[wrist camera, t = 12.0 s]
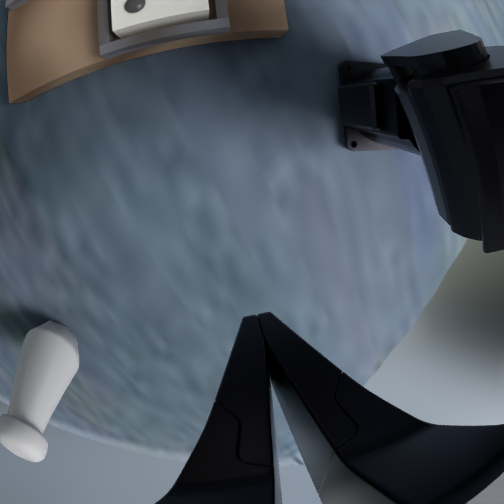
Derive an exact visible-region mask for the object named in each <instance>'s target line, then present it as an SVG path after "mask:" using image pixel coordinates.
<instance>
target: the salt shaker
mask: <svg viewBox="0 0 504 504" xmlns="http://www.w3.org/2000/svg"><path fill="white" fill-rule="evenodd" d="M78 368H79V353H78V343H77V339H76V338H75V337H74V335H73V334H72V333H71V332H70V330H69V329H68V328H67V326H65V325H62V324H59V323H56V322H54V321H51V320H49V321H47V322H46V323H44V324H42V325H40V326H38V327H36V328H33V329H31V330H30V331H29V332H28V333H27V335H26V337H25V339H24V341H23V345H22V348H21V352H20V356H19V360H18V364H17V368H16V373H15V377H14V382H13V387H12V393H11V398H10V404H9V411H8V414H2V416H1V417H0V442H1V444H2V445H3V446H5V447H6V448H7V449H8V450H9V451H11V452H12V453H14V454H15V455H17V456H19V457H21V458H23V459H26V460H28V461H33V462H39V461H42V460H43V459H44V458H45V455H46V453H47V448H48V442H47V440H46V437H45V436H44V435H43V431H44V429H45V427H46V425H47V423H48V421H49V419H50V417H51V415H52V413H53V411H54V409H55V408H56V406H57V404H58V402H59V401H60V399H61V397H62V395H63V394H64V392H65V390H66V388H67V387H68V385H69V383H70V382H71V380H72V378H73V377H74V375H75V373H76V372H77V370H78Z"/></svg>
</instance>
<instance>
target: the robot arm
mask: <svg viewBox="0 0 504 504" xmlns="http://www.w3.org/2000/svg"><path fill="white" fill-rule="evenodd" d="M381 58H382V60H383V62H384V64H385V65H383V64H374V63H365V62H354V61H343V62H341V63H340V64H339V67H338V69H339V77H340V88H339V98H340V109H341V122H342V123H343V125H344V133H345V145H346V148H347V149H349V150H351V151H366V150H391V149H401V150H405V151H408V152H411V153H415V154H418V155H421V156H422V159H423V162H424V165H425V169H426V172H427V175H428V178H429V182H430V185H431V189H432V192H433V196H434V200H435V203H436V206H437V209H438V212H439V215H440V216H441V217H442V218H443V219H444V220H445V221H446V222H447V223H448V224H449V225H451V230H452V231H453V232H455V233H457V234H459V235H461V236H463V237H466V238H470V239H474V240H479V241H483V251H484V252H485V253H490V252H495V251H499V250H504V46H491V47H485V46H484V44H483V41H482V39H481V38H480V37H478V36H475V35H473V34H470V33H468V32H465V31H462V30H456V31H450V32H445V33H439V34H434V35H430V36H428V37H425V38H422V39H420V40H417V41H414V42H412V43H409V44H407V45H404V46H402V47H399V48H397V49H395V50H392V51H390V52H388V53H385V54H383V55H381ZM345 65H346V66H347V67H348V71H346V70H345V68H344V66H345ZM352 141H354V146H353V147H352V146H351V142H352ZM270 380H271V383H272V385H273V388H274V391H275V393H276V396H277V398H278V401H279V403H280V405H281V408H282V410H283V413H284V415H285V418H286V420H287V423H288V425H289V427H290V430H291V432H292V435H293V437H294V439H295V442H296V444H297V446H298V449H299V451H300V453H301V456H302V458H303V460H304V463H305V465H306V467H307V470H308V472H309V474H310V477H311V479H312V481H313V483H314V486H315V488H316V490H317V492H318V494H319V497H320V499H321V502H322V503H323V504H504V424H501V425H486V426H450V425H436V424H431V423H427V422H424V421H422V420H419V419H417V418H415V417H413V416H412V415H409V414H408V413H406V412H404V411H403V410H401V409H399V408H397V407H395V406H394V405H392V404H390V403H388V402H387V401H385V400H383V399H381V398H379V397H378V396H377V395H375V394H373V393H372V392H370V391H369V390H367V389H365V388H364V387H363V386H361V385H360V384H359V383H357V382H356V381H355V380H353V379H352V378H351V377H349V376H348V375H347V374H346V373H344V372H342V370H340V369H339V368H338V367H337V366H335V365H334V364H333V363H332V362H330V361H329V360H328V359H327V358H326V357H324V356H323V355H322V354H321V353H319V352H318V351H317V350H316V349H314V348H313V347H312V346H311V345H310V344H308V343H307V342H306V341H305V340H303V339H302V338H301V337H300V336H299V335H297V334H296V333H295V332H294V331H293V330H291V329H290V328H289V327H288V326H287V325H285V324H284V323H283V322H282V321H281V320H279V319H278V318H277V317H276V316H275V315H273V314H272V313H271V312H266V313H261V314H258V315H257V316H256V315H251V316H246V317H243V319H242V322H241V325H240V328H239V331H238V334H237V337H236V340H235V343H234V346H233V348H232V351H231V354H230V357H229V360H228V363H227V366H226V369H225V372H224V375H223V378H222V381H221V384H220V387H219V390H218V393H217V396H216V399H215V402H214V404H213V407H212V410H211V413H210V415H209V418H208V420H207V423H206V425H205V428H204V430H203V432H202V434H201V436H200V438H199V440H198V442H197V444H196V446H195V448H194V450H193V452H192V453H191V455H190V457H189V459H188V461H187V463H186V464H185V467H184V468H183V470H182V472H181V474H180V475H179V477H178V479H177V480H176V482H175V484H174V485H173V487H172V488H171V489H170V491H169V492H168V493H167V494H166V495H165V496H164V497H163V498H161V499H160V500H159V501H158V502H156V503H155V504H282V495H281V485H280V474H279V463H278V453H277V442H276V432H275V422H274V411H273V401H272V391H271V383H270Z"/></svg>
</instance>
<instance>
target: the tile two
mask: <svg viewBox="0 0 504 504" xmlns="http://www.w3.org/2000/svg"><path fill="white" fill-rule="evenodd" d="M111 15H112V31H113V32H114V33H115V34H116V35H117V36H118V37H120V38H121V39H123V38H126V37H129V36H133V35H136V34H140V33H144V32H148V31H152V30H156V29H160V28H165V27H170V26H175V25H180V24H185V23H191V22H198V21H205V20H209V3H208V0H111Z"/></svg>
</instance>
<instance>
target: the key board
mask: <svg viewBox="0 0 504 504" xmlns="http://www.w3.org/2000/svg"><path fill="white" fill-rule="evenodd" d="M208 3H209V20H205V21H198V22H191V23H185V24H180V25H175V26H170V27H165V28H160V29H156V30H152V31H148V32H144V33H140V34H136V35H133V36H129V37H126V38H123V39H121V38H120V37H118V36H117V35H116V34H115V33H114V32H113V31H112V15H111V0H6V4H5V7H7V8H9V14H8V26H7V82H8V95H9V103H25V102H27V101H28V100H30V99H32V98H34V97H36V96H38V95H40V94H42V93H44V92H46V91H49V90H51V89H53V88H55V87H57V86H59V85H62V84H64V83H66V82H69V81H71V80H74V79H76V78H79V77H81V76H84V75H86V74H89V73H92V72H94V71H97V70H100V69H103V68H106V67H109V66H112V65H115V64H118V63H121V62H125V61H128V60H132V59H135V58H139V57H143V56H147V55H151V54H155V53H159V52H163V51H168V50H173V49H178V48H183V47H188V46H194V45H200V44H207V43H215V42H223V41H232V40H243V39H258V38H280V37H281V36H283V35H284V34H285V33H286V32H287V31H288V30H289V28H288V22H287V16H286V10H285V5H284V0H208Z"/></svg>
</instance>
